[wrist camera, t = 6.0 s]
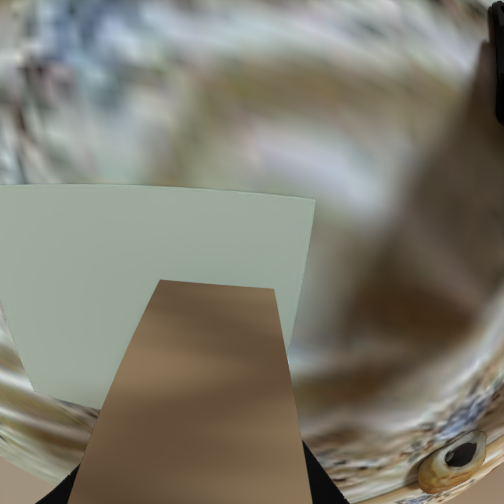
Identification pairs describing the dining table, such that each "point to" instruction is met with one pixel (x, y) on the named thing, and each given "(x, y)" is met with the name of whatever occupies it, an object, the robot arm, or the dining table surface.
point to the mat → (131, 267)
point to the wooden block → (199, 406)
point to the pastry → (453, 463)
